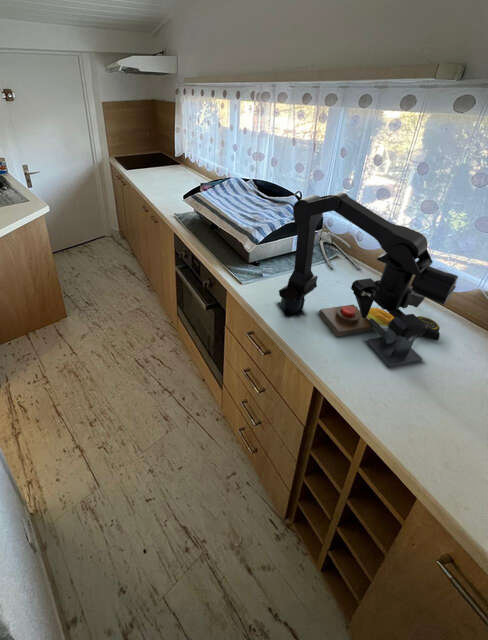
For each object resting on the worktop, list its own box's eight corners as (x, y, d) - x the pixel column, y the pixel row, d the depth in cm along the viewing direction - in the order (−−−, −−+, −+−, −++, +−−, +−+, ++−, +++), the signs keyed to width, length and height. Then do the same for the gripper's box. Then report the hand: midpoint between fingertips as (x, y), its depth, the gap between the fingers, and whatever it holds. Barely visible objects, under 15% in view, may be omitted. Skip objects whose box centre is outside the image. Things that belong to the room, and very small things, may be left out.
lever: (379, 337, 78) (384, 330, 77) (366, 323, 82) (371, 316, 81) (410, 341, 81) (415, 335, 80) (395, 328, 86) (400, 321, 85)
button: (346, 318, 93) (347, 314, 92) (338, 310, 96) (340, 306, 95) (356, 316, 94) (358, 312, 93) (349, 309, 97) (350, 304, 96)
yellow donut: (394, 312, 97) (388, 322, 98) (363, 301, 97) (357, 311, 98) (415, 330, 87) (408, 341, 88) (380, 318, 87) (374, 329, 88)
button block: (337, 336, 91) (340, 326, 90) (318, 314, 100) (321, 304, 98) (372, 331, 93) (376, 321, 91) (351, 309, 102) (354, 300, 100)
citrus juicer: (351, 246, 118) (323, 219, 145) (326, 257, 120) (303, 228, 148) (360, 268, 121) (332, 238, 149) (336, 279, 124) (312, 247, 151)
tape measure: (408, 334, 92) (412, 325, 90) (410, 321, 97) (414, 312, 95) (435, 344, 88) (440, 335, 86) (436, 330, 93) (441, 321, 91)
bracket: (388, 367, 82) (400, 341, 77) (366, 342, 89) (375, 317, 85) (421, 361, 83) (434, 335, 78) (396, 337, 91) (406, 312, 86)
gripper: (460, 302, 66) (432, 353, 73) (394, 257, 82) (377, 302, 90) (415, 309, 64) (392, 360, 72) (357, 262, 80) (343, 307, 88)
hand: (375, 329), depth 80 cm, fingers open, 9 cm apart
